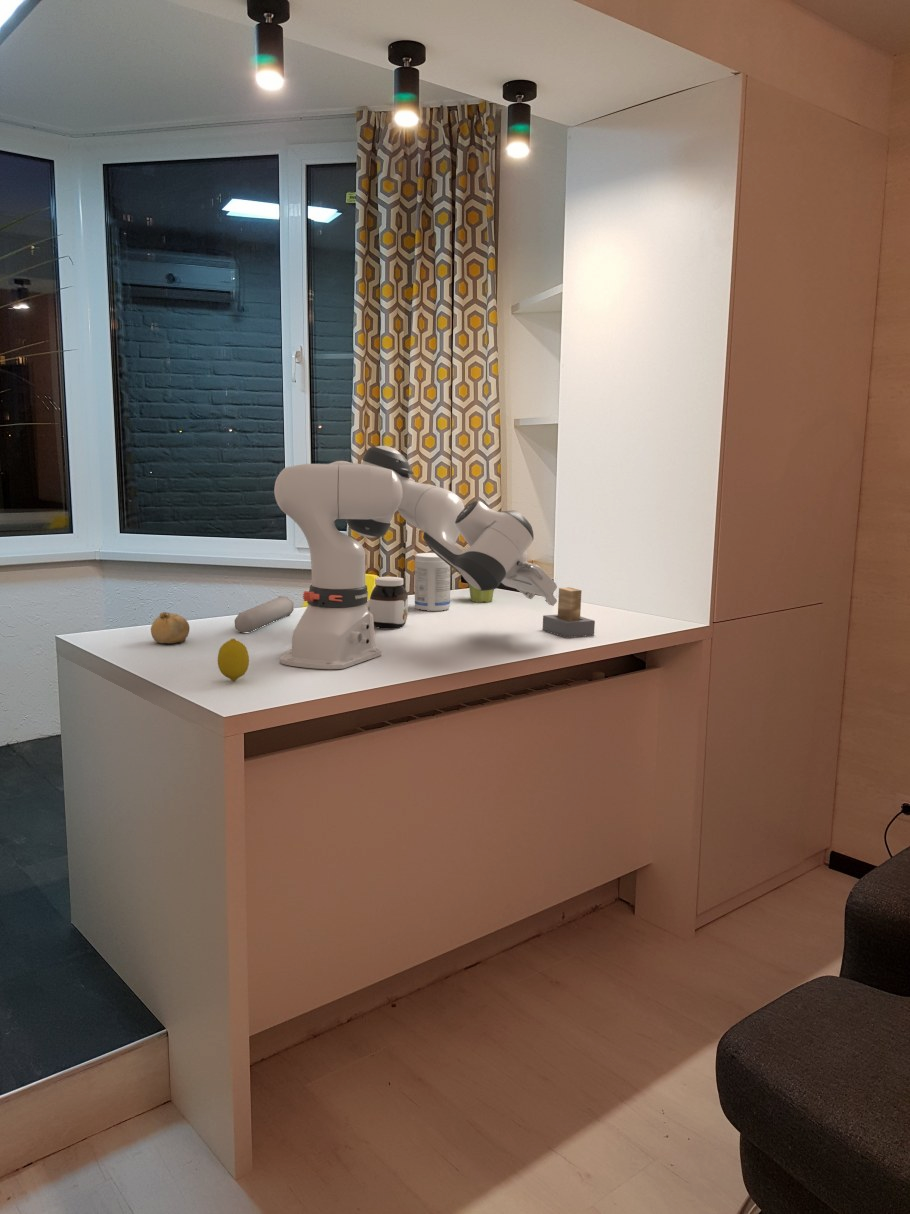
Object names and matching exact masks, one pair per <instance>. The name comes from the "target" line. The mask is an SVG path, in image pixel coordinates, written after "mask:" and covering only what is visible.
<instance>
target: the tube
mask: <svg viewBox="0 0 910 1214" xmlns="http://www.w3.org/2000/svg"><path fill="white" fill-rule="evenodd" d="M294 603H295V602H294V601H293V600H292V599H291V598H290V597H289V596H285V595H284V596H282V595H278V596H277V598H274V599H272V600H269V601H267V602H264V603H262V604H261V603H260V604H259V605H256V606H255V607H252V608H250V609H247V610H245V611H242V612H240V613H238V614H237V616H236V617H235V618H234V629H235V630H236V631H237V632H239V633H240V632H251V631H253V630H255V629H257V628H260V627H262V626H264V625H266V626H268V625H270V624H269V623H271V622H273V621H275V622H277V621H279V619H280V620H282V619H284V618H286V617H289V615H290V616H291V614H292V613H293V612H294V607H295V605H294ZM285 616H286V617H285ZM283 617H284V618H283ZM281 618H282V619H281ZM276 620H277V621H276ZM273 623H274V622H273ZM267 624H268V625H267ZM271 624H272V623H271ZM264 627H265V626H264ZM262 628H263V627H262ZM260 629H261V628H260ZM257 630H258V629H257ZM255 631H256V630H255ZM253 632H254V631H253ZM251 633H252V632H251Z"/></svg>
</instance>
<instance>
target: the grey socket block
mask: <svg viewBox="0 0 910 1214" xmlns="http://www.w3.org/2000/svg"><path fill="white" fill-rule="evenodd" d="M595 623H596V621H595V620H594V619H591V618H587V617H584V616H581V615H580V620H577V621H567V620H563V619H560V618H558V613H557V614H547V615H545V614H544V615H543V616H542V631H545V632H548V631H549V632H548V633H551V632H552V633H551V634H554V633H555V634H554V635H556V634H558V635H557V636H559V635H561V636H560V637H562V636H564V637H563V638H565V637H569V638H575V637H574V636H580V637H586V636H585V635H591V636H595V628H596V627H595Z"/></svg>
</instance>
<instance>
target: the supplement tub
mask: <svg viewBox="0 0 910 1214" xmlns="http://www.w3.org/2000/svg"><path fill="white" fill-rule="evenodd" d="M414 556H415V557H414V558H415V559H414V607H415V609H417V610H419V609H421V610H420V611H422V610H427V611H426V612H443V610H444V611H447V610H449V609H450V607H451V566H449V565H448V564H447V563H446V562H444V561H443V560H442V559H441V558H440V557H438V556H437V555H436V554H435V553H434V552H420V553H416V554H415V555H414Z"/></svg>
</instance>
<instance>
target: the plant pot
mask: <svg viewBox="0 0 910 1214" xmlns="http://www.w3.org/2000/svg"><path fill="white" fill-rule="evenodd" d="M468 586H469V587H468V588H469V595H470V601H472V602H473V601H476V602H475V603H482V602H485V603H490V601H491V602H493V597H494V591H495V589H493V590H487V591H480V590H478V589H476V588H474V587H473V586H471V585H470V584H469V583H468Z"/></svg>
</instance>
